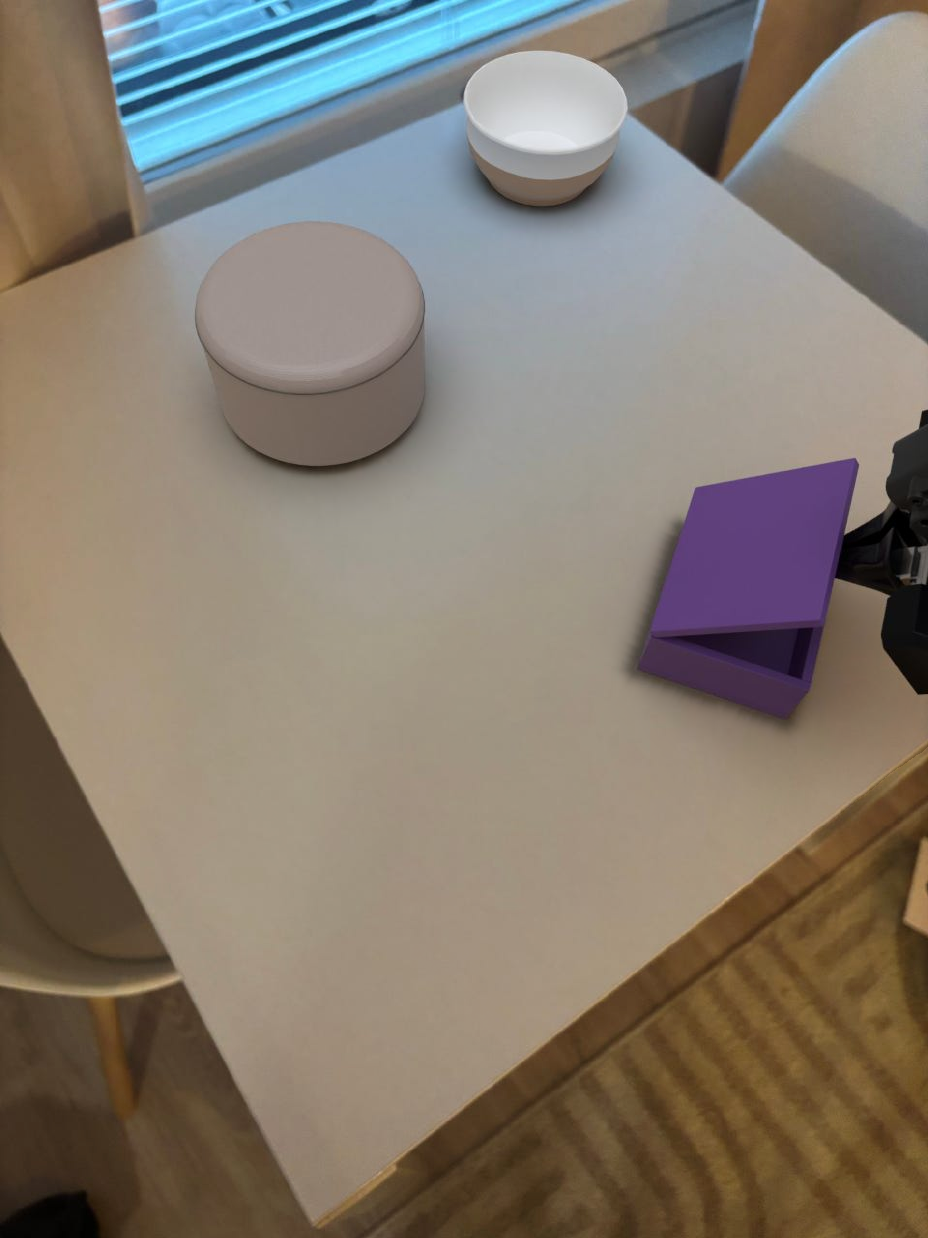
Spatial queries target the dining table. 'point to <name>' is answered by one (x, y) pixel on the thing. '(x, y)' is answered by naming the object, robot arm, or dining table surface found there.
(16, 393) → the dining table surface
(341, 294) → the container
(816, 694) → the dining table surface
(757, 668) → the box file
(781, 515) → the lid
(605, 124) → the bowl
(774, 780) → the dining table surface
